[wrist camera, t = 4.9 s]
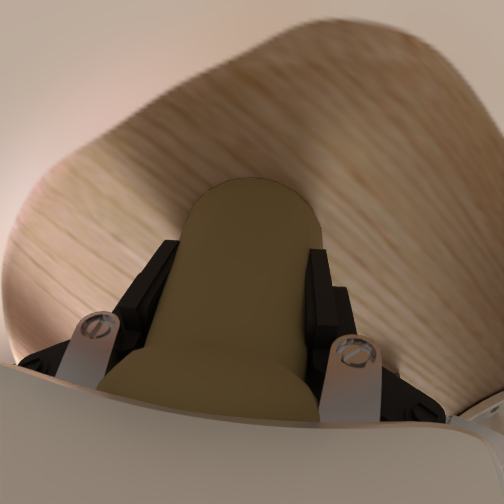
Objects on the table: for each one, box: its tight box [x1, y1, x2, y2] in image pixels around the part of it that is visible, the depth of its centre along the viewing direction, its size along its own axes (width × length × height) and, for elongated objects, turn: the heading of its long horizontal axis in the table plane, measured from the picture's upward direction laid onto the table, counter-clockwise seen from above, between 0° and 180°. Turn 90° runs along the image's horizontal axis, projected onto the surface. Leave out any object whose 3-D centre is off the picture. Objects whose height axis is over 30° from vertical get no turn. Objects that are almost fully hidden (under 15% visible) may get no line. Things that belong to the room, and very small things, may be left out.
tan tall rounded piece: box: [95, 177, 323, 422], centre depth 9 cm, size 6×6×11 cm
